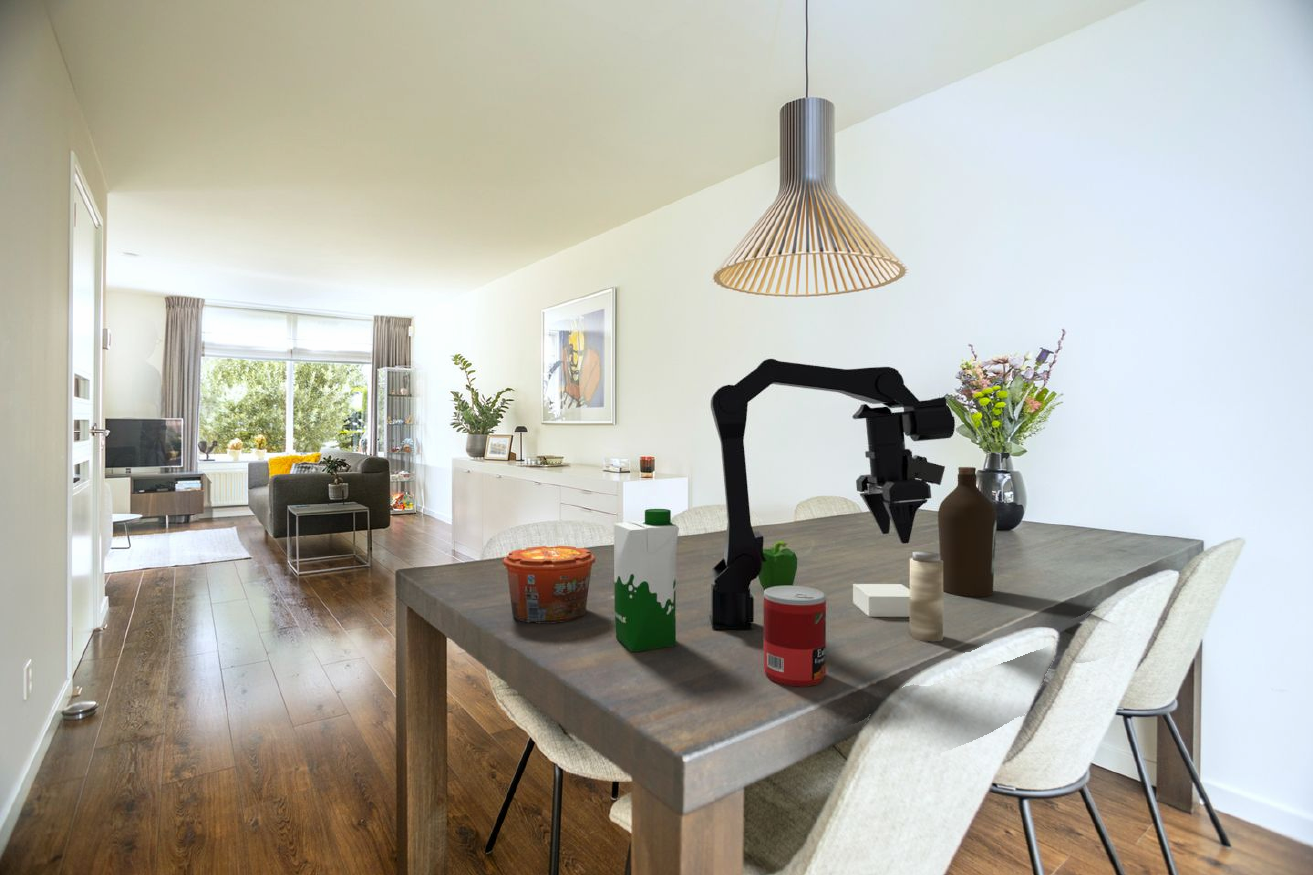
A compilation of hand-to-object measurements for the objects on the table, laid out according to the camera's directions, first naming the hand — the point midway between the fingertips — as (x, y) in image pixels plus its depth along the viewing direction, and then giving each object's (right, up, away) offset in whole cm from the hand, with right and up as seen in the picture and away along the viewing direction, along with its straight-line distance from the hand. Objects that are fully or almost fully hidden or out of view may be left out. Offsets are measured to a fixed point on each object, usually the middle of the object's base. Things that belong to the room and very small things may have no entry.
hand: (895, 538), depth 103 cm
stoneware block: (+2, -14, +10) cm, 18 cm away
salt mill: (+3, -15, -5) cm, 16 cm away
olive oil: (+23, -15, +23) cm, 35 cm away
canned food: (-21, -15, -21) cm, 33 cm away
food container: (-58, -15, +7) cm, 61 cm away
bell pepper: (-15, -15, +25) cm, 32 cm away
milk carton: (-41, -15, -8) cm, 44 cm away
